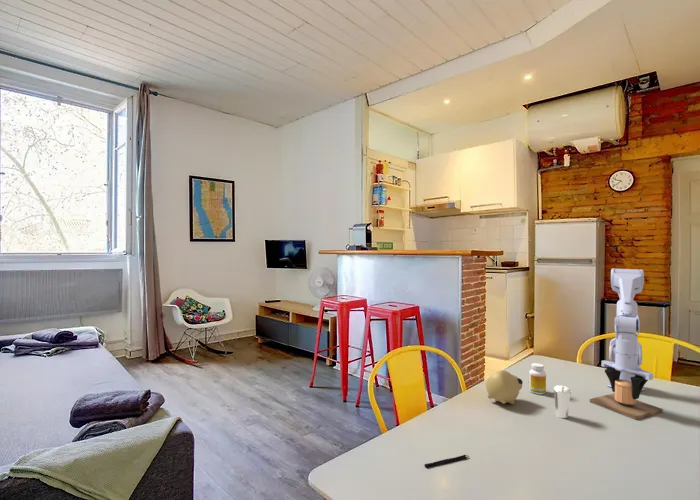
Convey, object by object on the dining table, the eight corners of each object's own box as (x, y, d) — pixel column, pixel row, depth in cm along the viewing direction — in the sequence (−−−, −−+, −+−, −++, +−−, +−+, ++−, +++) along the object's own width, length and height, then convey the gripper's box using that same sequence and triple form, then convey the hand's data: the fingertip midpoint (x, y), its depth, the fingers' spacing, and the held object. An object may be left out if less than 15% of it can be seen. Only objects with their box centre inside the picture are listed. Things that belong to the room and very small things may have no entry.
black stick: (466, 457, 93) (466, 453, 93) (469, 459, 92) (469, 455, 92) (424, 467, 88) (424, 463, 88) (426, 469, 87) (426, 465, 87)
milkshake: (553, 418, 114) (554, 385, 114) (553, 411, 119) (553, 379, 118) (570, 421, 112) (571, 388, 112) (569, 414, 116) (570, 382, 116)
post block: (615, 395, 132) (616, 381, 132) (662, 412, 119) (662, 396, 119) (589, 401, 126) (590, 387, 126) (635, 419, 114) (635, 403, 114)
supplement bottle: (548, 395, 132) (549, 367, 132) (533, 394, 132) (533, 367, 132) (541, 389, 137) (541, 362, 137) (526, 388, 137) (526, 362, 137)
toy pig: (528, 403, 125) (528, 371, 125) (506, 411, 118) (506, 377, 118) (501, 393, 133) (502, 363, 133) (479, 400, 126) (480, 368, 126)
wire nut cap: (621, 396, 127) (621, 378, 126) (639, 402, 121) (640, 384, 121) (610, 398, 124) (611, 380, 124) (629, 405, 119) (629, 386, 119)
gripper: (595, 348, 128) (595, 388, 128) (643, 360, 114) (642, 405, 115) (609, 346, 131) (608, 385, 131) (657, 358, 117) (656, 401, 118)
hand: (625, 394), depth 123 cm, fingers closed on wire nut cap, 6 cm apart
